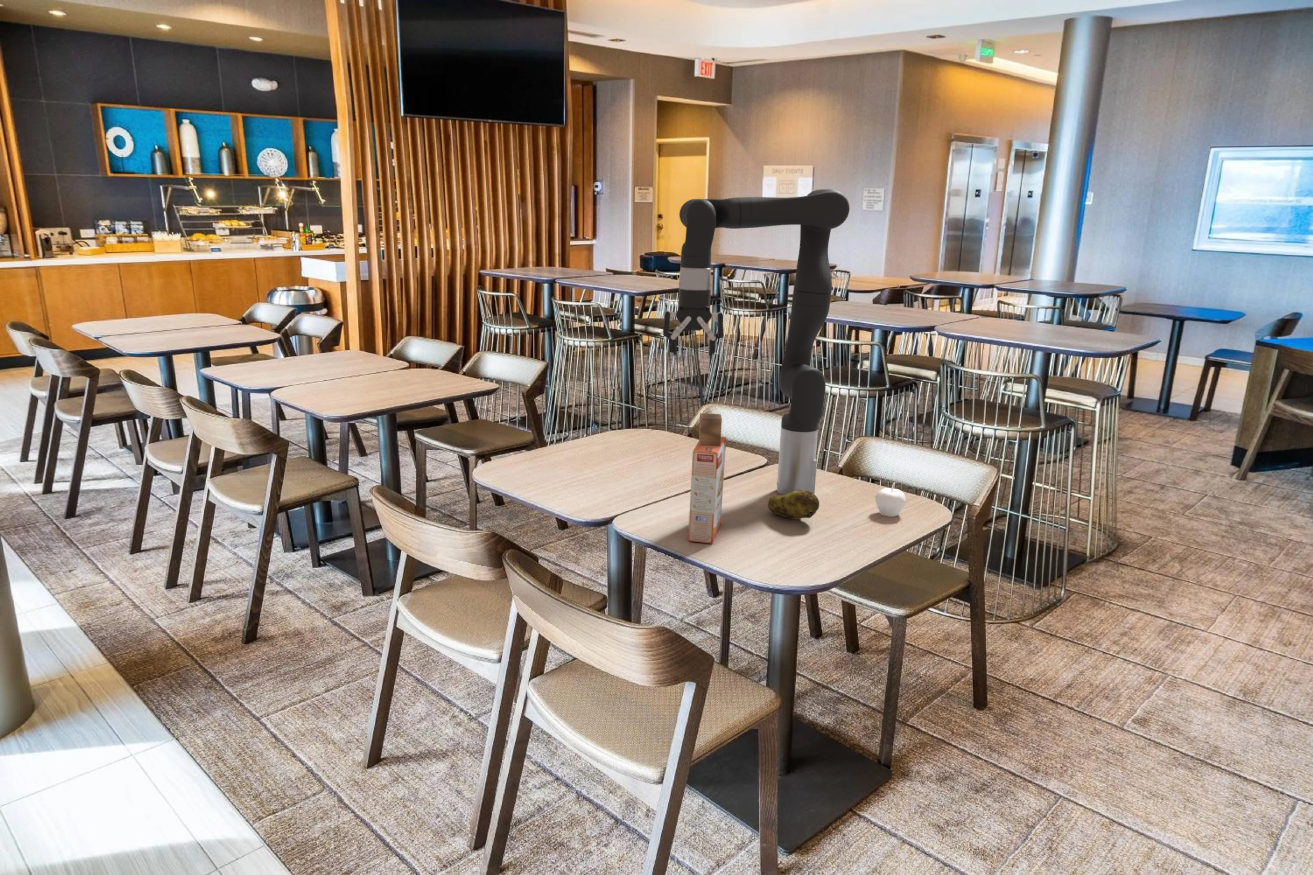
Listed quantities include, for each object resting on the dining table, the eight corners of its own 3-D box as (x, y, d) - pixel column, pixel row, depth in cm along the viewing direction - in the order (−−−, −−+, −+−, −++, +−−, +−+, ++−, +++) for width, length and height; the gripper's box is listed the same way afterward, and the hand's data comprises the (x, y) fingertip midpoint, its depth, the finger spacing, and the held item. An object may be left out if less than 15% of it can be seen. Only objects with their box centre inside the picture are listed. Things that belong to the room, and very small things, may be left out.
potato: (792, 508, 212) (794, 477, 210) (823, 526, 201) (826, 493, 198) (763, 512, 208) (765, 481, 206) (793, 531, 197) (795, 498, 195)
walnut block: (719, 440, 192) (720, 414, 190) (720, 445, 187) (721, 419, 186) (698, 439, 192) (700, 413, 190) (699, 445, 187) (700, 418, 186)
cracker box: (714, 545, 188) (719, 452, 182) (687, 542, 189) (690, 450, 184) (722, 522, 201) (727, 435, 196) (697, 520, 202) (701, 433, 197)
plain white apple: (910, 516, 209) (914, 484, 207) (889, 521, 205) (892, 489, 203) (889, 507, 215) (892, 476, 213) (868, 512, 211) (871, 480, 209)
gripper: (724, 286, 208) (721, 353, 212) (664, 284, 208) (662, 351, 212) (726, 289, 200) (723, 358, 205) (664, 287, 200) (662, 357, 205)
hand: (692, 355), depth 208 cm, fingers open, 8 cm apart
